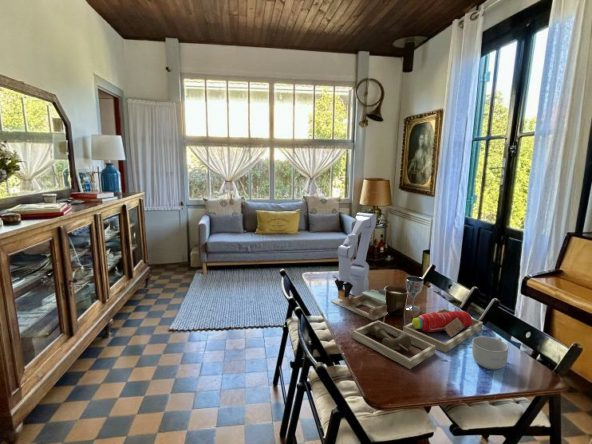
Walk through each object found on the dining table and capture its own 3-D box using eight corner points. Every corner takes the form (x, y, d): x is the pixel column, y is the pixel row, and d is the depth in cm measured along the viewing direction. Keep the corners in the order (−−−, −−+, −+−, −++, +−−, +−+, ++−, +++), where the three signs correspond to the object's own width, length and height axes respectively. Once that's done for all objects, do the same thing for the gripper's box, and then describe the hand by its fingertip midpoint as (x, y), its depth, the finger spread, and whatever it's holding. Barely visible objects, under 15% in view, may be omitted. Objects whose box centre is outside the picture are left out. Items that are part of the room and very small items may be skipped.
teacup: (493, 377, 108) (496, 354, 107) (463, 360, 117) (465, 339, 116) (518, 365, 114) (520, 344, 113) (487, 350, 124) (490, 330, 122)
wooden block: (343, 296, 170) (343, 288, 169) (349, 298, 167) (349, 291, 166) (337, 298, 167) (338, 290, 167) (343, 300, 164) (343, 292, 164)
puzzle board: (370, 297, 173) (370, 290, 173) (399, 309, 159) (400, 301, 159) (343, 307, 161) (344, 299, 161) (373, 320, 147) (373, 311, 147)
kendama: (382, 332, 138) (418, 355, 120) (363, 337, 134) (398, 362, 116) (382, 318, 137) (419, 340, 119) (363, 323, 133) (398, 346, 115)
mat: (344, 297, 174) (344, 296, 174) (356, 302, 167) (356, 301, 167) (330, 301, 168) (330, 300, 167) (342, 307, 161) (342, 306, 161)
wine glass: (403, 310, 159) (405, 280, 156) (404, 304, 166) (406, 275, 164) (420, 313, 156) (423, 282, 153) (421, 306, 163) (423, 277, 161)
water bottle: (482, 322, 132) (425, 326, 128) (477, 338, 135) (422, 343, 131) (463, 305, 144) (410, 308, 139) (459, 320, 146) (407, 324, 142)
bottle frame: (441, 314, 155) (442, 307, 154) (482, 328, 141) (483, 322, 140) (402, 333, 136) (403, 326, 135) (445, 352, 122) (445, 345, 121)
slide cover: (372, 290, 172) (372, 285, 171) (397, 300, 160) (398, 294, 159) (361, 294, 166) (361, 289, 166) (387, 304, 154) (387, 298, 154)
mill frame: (377, 326, 142) (378, 320, 141) (435, 353, 121) (435, 345, 121) (352, 337, 132) (352, 330, 131) (409, 369, 112) (410, 360, 111)
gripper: (328, 267, 168) (328, 292, 170) (349, 274, 157) (348, 301, 159) (338, 264, 172) (337, 289, 174) (359, 271, 161) (358, 298, 163)
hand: (343, 295), depth 167 cm, fingers closed on wooden block, 4 cm apart
